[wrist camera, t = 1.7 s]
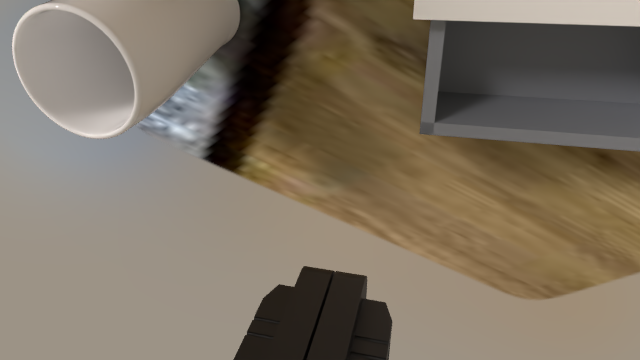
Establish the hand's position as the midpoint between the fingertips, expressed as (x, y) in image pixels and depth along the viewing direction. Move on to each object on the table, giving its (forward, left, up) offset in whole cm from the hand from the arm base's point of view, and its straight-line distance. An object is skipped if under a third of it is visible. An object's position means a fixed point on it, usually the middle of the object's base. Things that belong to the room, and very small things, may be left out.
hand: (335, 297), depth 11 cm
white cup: (-6, -13, -26) cm, 29 cm away
